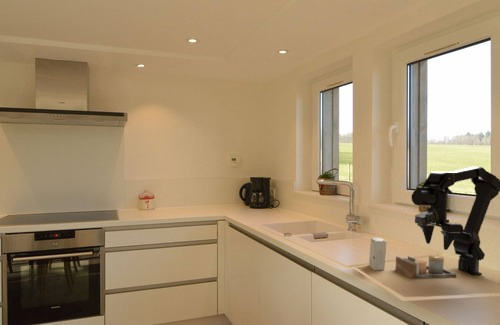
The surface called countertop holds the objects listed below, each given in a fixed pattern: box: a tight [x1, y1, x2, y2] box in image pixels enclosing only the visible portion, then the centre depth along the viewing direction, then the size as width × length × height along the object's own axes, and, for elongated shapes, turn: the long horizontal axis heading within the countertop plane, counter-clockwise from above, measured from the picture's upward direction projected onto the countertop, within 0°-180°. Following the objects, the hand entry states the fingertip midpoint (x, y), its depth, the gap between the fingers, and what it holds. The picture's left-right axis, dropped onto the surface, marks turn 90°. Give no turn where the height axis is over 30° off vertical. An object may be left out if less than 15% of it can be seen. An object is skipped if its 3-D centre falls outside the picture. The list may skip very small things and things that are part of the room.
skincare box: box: [368, 237, 387, 271], centre depth 137 cm, size 6×4×12 cm
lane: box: [395, 256, 457, 280], centre depth 132 cm, size 18×10×6 cm, turn 102°
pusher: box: [403, 256, 419, 275], centre depth 131 cm, size 1×7×6 cm, turn 12°
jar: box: [415, 258, 428, 275], centre depth 132 cm, size 5×5×4 cm
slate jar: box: [427, 254, 445, 274], centre depth 133 cm, size 5×5×6 cm
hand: (436, 246), depth 133 cm, fingers open, 9 cm apart
